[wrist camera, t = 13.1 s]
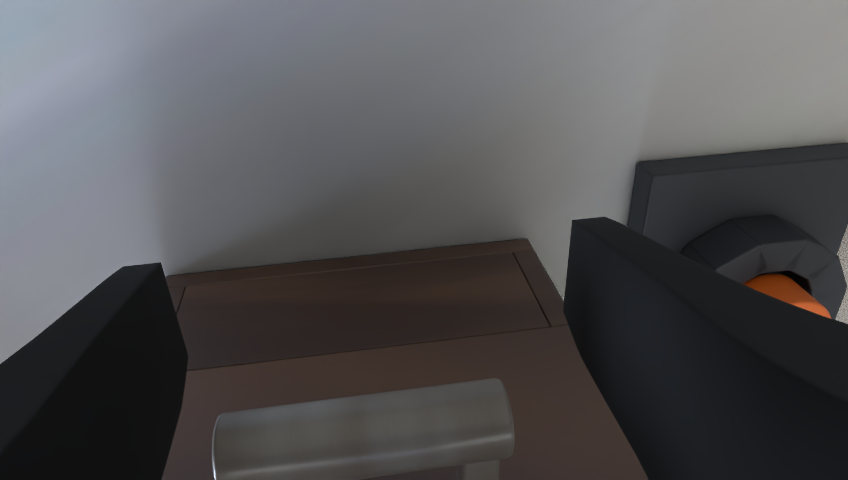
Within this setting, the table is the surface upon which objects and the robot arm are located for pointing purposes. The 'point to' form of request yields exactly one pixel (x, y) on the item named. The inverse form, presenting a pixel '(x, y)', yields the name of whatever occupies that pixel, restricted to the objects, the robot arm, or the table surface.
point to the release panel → (752, 214)
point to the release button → (786, 292)
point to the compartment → (362, 303)
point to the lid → (405, 415)
